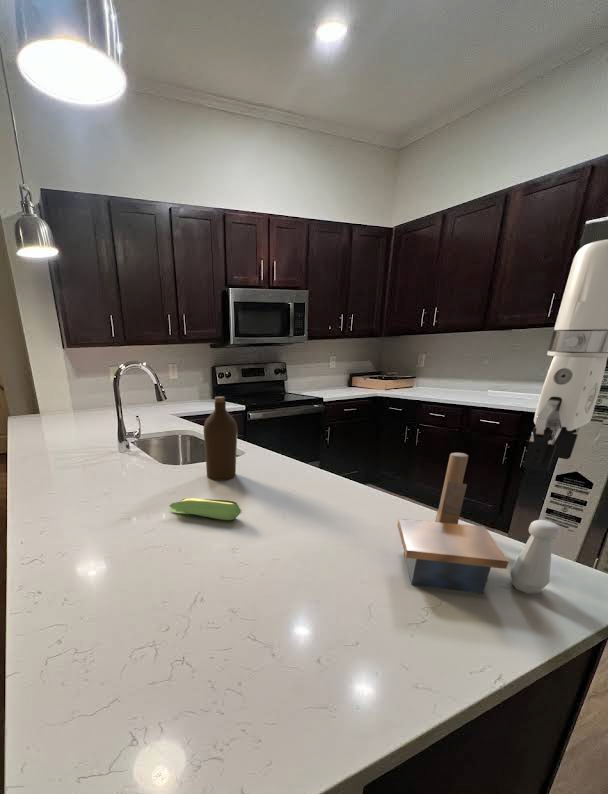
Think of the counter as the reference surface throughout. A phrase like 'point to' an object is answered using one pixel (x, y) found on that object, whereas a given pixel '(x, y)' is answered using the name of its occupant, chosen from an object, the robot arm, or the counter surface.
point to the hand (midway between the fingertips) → (546, 462)
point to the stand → (449, 554)
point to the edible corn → (207, 508)
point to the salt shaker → (535, 558)
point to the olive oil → (220, 442)
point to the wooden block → (453, 490)
